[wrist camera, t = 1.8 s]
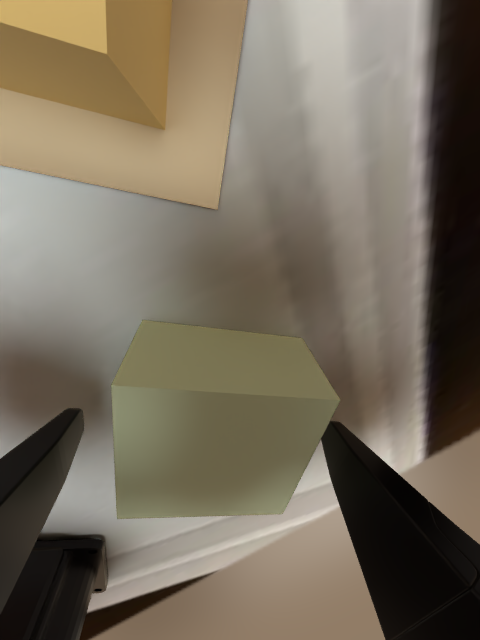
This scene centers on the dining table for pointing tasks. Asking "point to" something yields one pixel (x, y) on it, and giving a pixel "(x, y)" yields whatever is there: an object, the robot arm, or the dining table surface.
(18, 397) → the dining table surface
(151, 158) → the birch pad
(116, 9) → the ochre base brick
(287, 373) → the sage brick
